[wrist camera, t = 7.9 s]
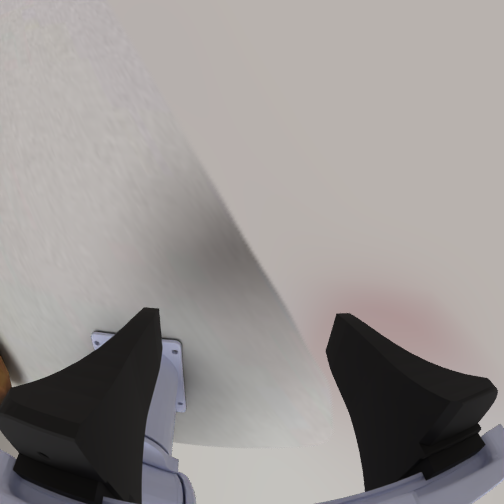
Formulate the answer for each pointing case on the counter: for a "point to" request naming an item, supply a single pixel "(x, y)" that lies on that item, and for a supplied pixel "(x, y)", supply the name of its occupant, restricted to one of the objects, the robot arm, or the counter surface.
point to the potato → (4, 381)
